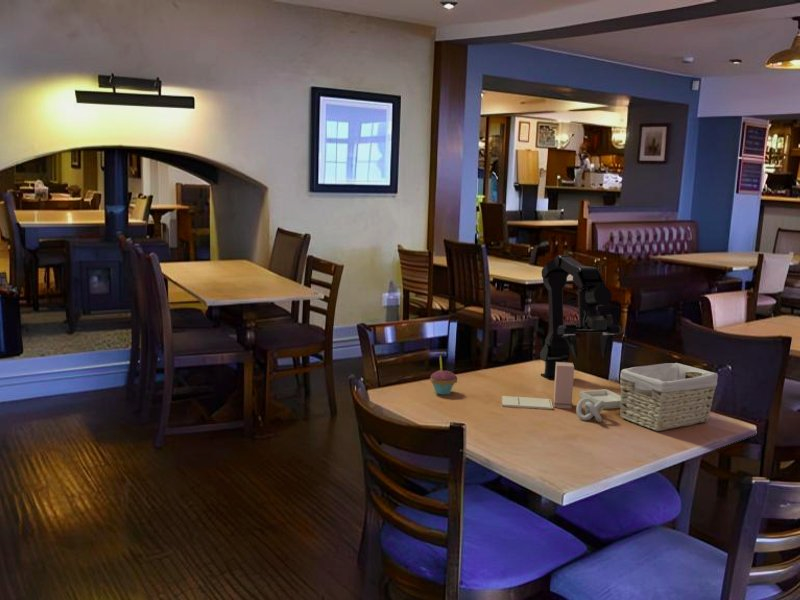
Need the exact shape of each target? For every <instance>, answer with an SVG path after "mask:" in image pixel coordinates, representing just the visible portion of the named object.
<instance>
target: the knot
mask: <svg viewBox="0 0 800 600" xmlns="http://www.w3.org/2000/svg"><path fill="white" fill-rule="evenodd" d="M604 405H605V402H604V401H602V400H601V401H599V402H597V403H596V404H595V403H594V401H593V400H591V399H590V398H583V399H581V398H580V400H579V401H578V402H577V404H576V409H575V411H576V415H577V417H578V419H579V420H581V421H583V422H584V421H585V422H586V421H590V420H591V419H592V418H593V417H595V419H596V421H597V422H598V423H601V422H603V418H602V416H601V414H600V412H601V411H603V410H604V409H603V407H604ZM583 406H584V407H583ZM582 407H583V408H584V409H583V410H584V414H585V415H584V414H583V411H582Z"/></svg>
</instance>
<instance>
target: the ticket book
mask: <svg viewBox="0 0 800 600" xmlns="http://www.w3.org/2000/svg"><path fill="white" fill-rule="evenodd" d="M501 407H506V408H507V407H509V408H522V409H523V408H525V409H535V408H537V409H538V410H539V409H540V410H551V409H553V410H554V404H553V403H552V399H551V398H539V397H526V396H525V397H524V396H523V397H522V396H511V395H510V396H508V395H501ZM537 409H536V410H537Z"/></svg>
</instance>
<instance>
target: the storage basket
mask: <svg viewBox="0 0 800 600" xmlns="http://www.w3.org/2000/svg"><path fill="white" fill-rule="evenodd" d="M686 376H687V377H689V378H686ZM619 378H620V380H619V382H620V396H621V407H620V411H619V412H620V413H619V415H620V417H621V418H622V419H625V420H627V421H629V422H632V423H634V424H638V425H639V426H642V427H645V428H646V429H647V428H648V429H651V430H653V431H656V432H659V431H665V430H671V429H675V428H678V427H688V426H693V425H695V424H701V423H706V422H708V421H709V419H710V418H709V417H710V412H711V409H712V406H713V405H712V404H713V400H714V394H715V390H716V388H717V385H718V379H719V375H718V373H717V372H713V371H709V370H705V369H702V368H698V367H695V366H690V365H686V364H682V363H678V362H675V363H673V362H671V363H670V362H669V363H667V362H665V363H657V364H649V365H640V366H633V367H629V368H623V369H622V370H620V377H619Z"/></svg>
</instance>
